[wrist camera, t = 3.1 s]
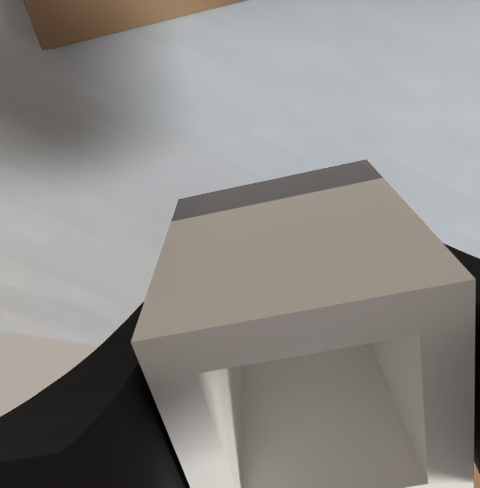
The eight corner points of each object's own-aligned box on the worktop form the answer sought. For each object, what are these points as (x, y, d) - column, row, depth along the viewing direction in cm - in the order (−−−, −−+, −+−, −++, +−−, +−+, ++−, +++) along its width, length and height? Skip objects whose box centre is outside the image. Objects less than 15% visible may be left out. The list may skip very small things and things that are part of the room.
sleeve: (366, 159, 12) (475, 279, 6) (381, 316, 14) (473, 505, 8) (178, 199, 12) (130, 342, 7) (222, 345, 14) (212, 541, 9)
